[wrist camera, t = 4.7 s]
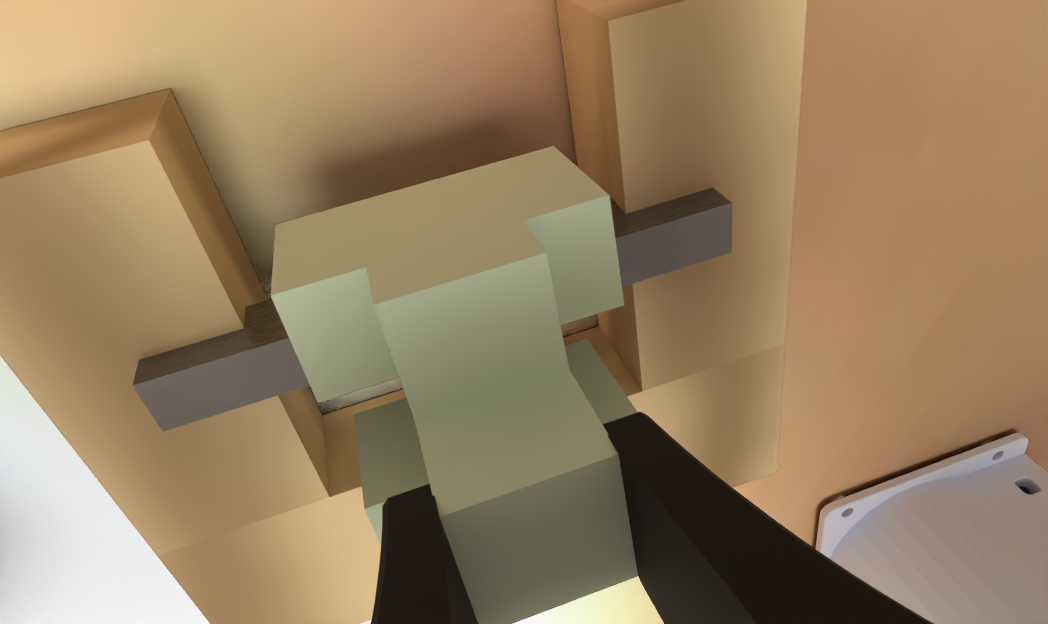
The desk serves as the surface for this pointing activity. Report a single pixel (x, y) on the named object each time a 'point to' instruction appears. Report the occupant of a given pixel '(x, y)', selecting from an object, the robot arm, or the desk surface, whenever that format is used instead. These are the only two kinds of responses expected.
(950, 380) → the desk surface
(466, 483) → the pale green block
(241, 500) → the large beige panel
